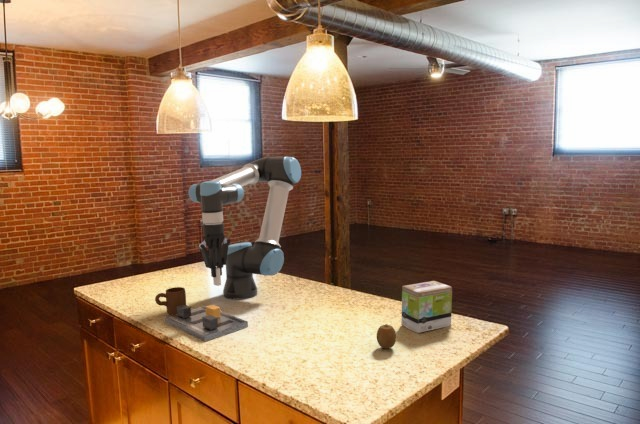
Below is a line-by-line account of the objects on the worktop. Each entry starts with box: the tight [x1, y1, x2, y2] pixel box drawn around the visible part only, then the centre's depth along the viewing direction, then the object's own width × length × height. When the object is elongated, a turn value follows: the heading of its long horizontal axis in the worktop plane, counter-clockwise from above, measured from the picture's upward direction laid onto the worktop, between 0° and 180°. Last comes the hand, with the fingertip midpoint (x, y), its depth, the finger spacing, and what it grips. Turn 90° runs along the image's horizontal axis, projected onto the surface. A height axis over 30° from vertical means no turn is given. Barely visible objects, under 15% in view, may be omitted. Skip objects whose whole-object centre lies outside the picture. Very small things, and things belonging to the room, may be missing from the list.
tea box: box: [400, 280, 453, 334], centre depth 167 cm, size 15×10×15 cm, turn 117°
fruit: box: [376, 323, 397, 350], centre depth 149 cm, size 6×6×8 cm
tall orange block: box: [205, 304, 221, 318], centre depth 177 cm, size 3×5×4 cm, turn 46°
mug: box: [154, 286, 187, 316], centre depth 187 cm, size 12×8×9 cm, turn 128°
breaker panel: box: [163, 304, 249, 343], centre depth 174 cm, size 18×28×6 cm, turn 46°
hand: (217, 284), depth 177 cm, fingers closed
